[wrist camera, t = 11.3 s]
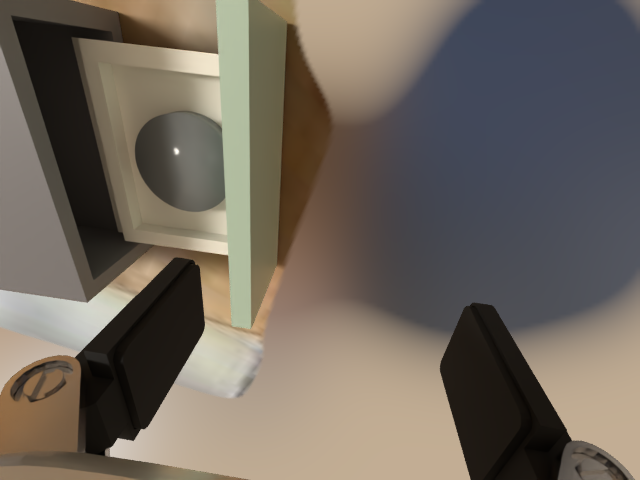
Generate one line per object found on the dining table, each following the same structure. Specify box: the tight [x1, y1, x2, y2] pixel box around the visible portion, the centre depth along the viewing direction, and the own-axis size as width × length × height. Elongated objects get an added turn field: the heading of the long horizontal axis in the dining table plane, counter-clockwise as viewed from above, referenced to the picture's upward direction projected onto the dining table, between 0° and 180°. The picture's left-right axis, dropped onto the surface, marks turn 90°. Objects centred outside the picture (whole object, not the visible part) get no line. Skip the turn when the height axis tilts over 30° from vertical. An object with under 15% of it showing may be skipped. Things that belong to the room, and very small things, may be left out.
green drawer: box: [71, 0, 287, 329], centre depth 21 cm, size 14×19×8 cm
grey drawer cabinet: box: [0, 0, 153, 303], centre depth 22 cm, size 14×18×9 cm
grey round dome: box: [135, 111, 225, 212], centre depth 23 cm, size 7×7×2 cm
